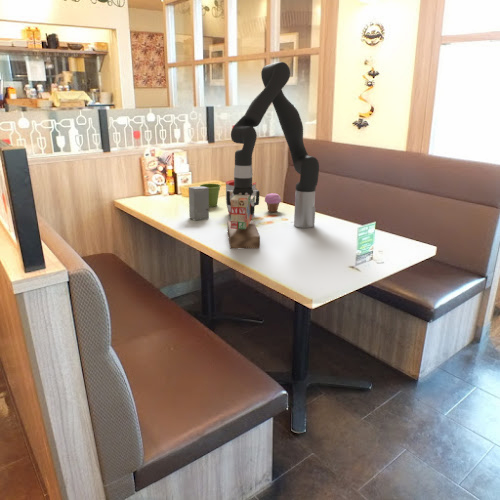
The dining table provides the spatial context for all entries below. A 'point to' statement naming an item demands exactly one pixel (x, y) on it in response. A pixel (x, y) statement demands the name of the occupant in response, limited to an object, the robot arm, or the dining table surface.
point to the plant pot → (213, 193)
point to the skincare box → (199, 202)
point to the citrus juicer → (231, 187)
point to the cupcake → (272, 202)
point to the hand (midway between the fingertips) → (242, 214)
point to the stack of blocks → (241, 211)
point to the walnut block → (243, 236)
